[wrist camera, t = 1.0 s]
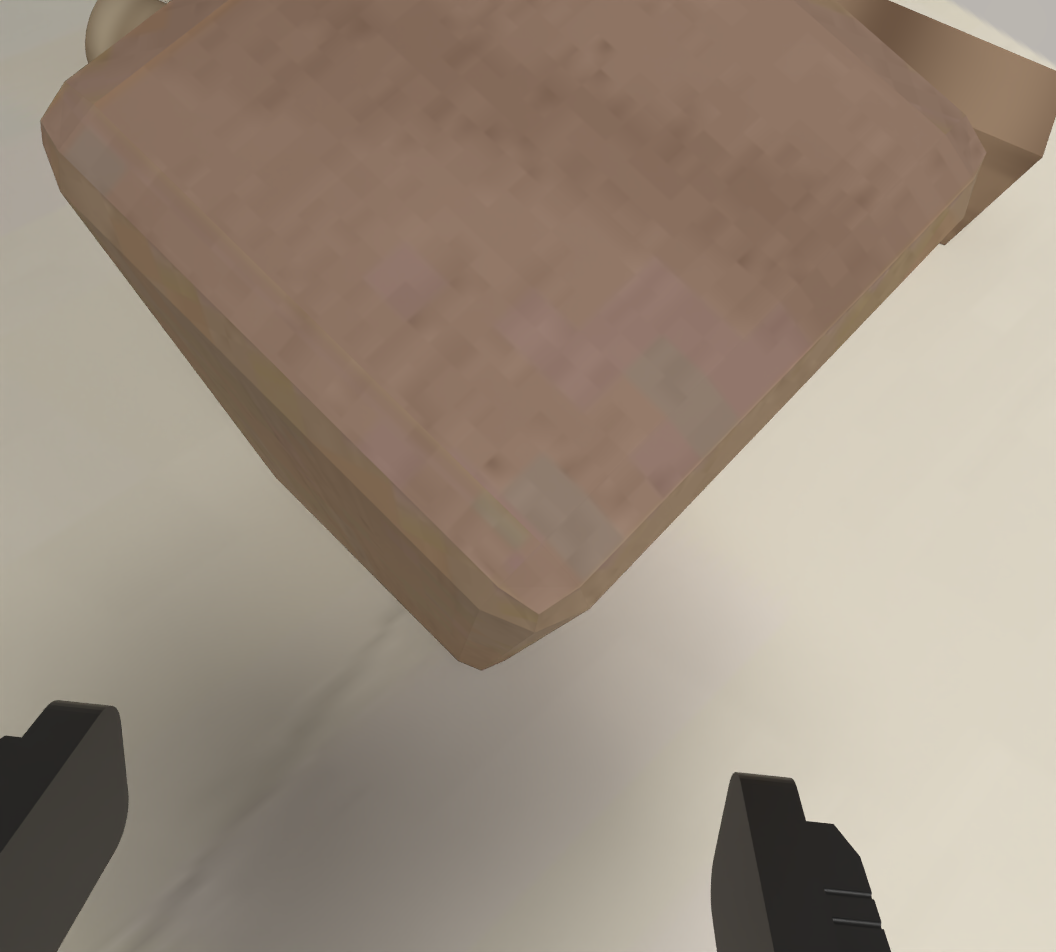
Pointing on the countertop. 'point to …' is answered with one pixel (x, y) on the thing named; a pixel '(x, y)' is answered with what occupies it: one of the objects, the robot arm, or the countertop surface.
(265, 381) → the wooden block
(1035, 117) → the board
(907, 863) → the countertop surface
